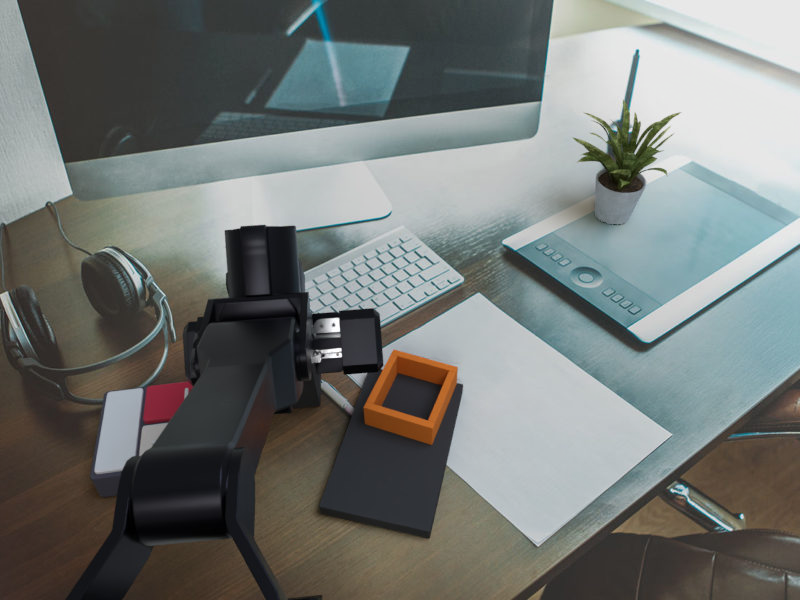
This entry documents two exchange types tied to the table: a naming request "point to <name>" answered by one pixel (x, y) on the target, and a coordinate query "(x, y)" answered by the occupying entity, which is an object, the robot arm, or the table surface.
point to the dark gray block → (310, 391)
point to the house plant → (623, 167)
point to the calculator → (131, 428)
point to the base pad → (396, 446)
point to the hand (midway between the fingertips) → (294, 342)
